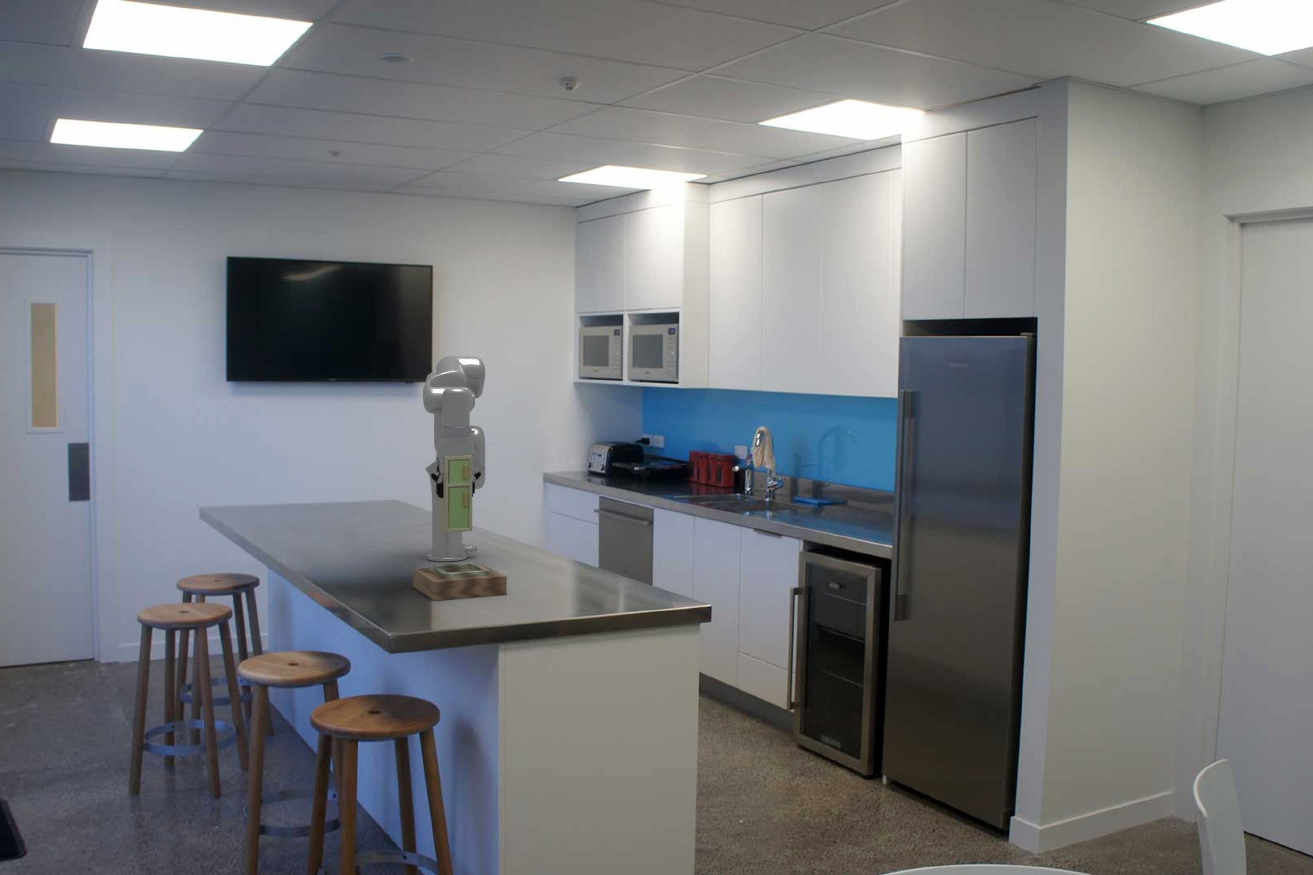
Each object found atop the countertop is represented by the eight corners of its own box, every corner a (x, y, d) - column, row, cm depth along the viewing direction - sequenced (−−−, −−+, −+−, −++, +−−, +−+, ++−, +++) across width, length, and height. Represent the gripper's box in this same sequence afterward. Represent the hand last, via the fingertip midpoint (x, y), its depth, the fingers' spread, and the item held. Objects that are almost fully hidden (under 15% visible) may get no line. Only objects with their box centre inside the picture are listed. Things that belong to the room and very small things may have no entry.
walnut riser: (482, 581, 320) (482, 559, 319) (506, 594, 302) (506, 571, 302) (413, 586, 311) (413, 564, 310) (434, 600, 293) (434, 577, 292)
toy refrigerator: (445, 533, 303) (445, 456, 302) (437, 529, 310) (437, 454, 309) (473, 531, 307) (473, 455, 306) (465, 528, 314) (465, 453, 312)
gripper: (481, 432, 314) (481, 494, 315) (420, 433, 306) (420, 496, 307) (490, 433, 308) (490, 497, 309) (428, 434, 300) (428, 499, 301)
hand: (455, 496), depth 308 cm, fingers closed on toy refrigerator, 7 cm apart
